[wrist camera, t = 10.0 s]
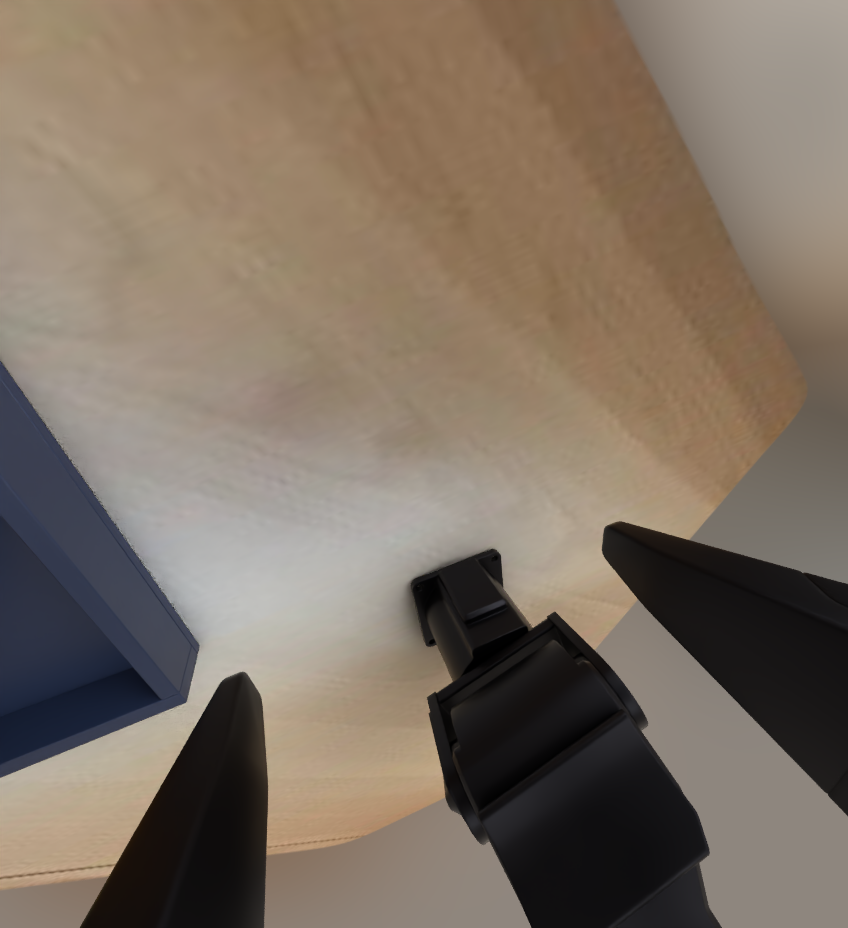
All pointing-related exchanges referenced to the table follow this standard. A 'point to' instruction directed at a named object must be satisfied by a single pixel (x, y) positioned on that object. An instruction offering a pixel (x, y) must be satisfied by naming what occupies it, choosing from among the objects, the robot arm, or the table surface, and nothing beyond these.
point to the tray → (72, 606)
